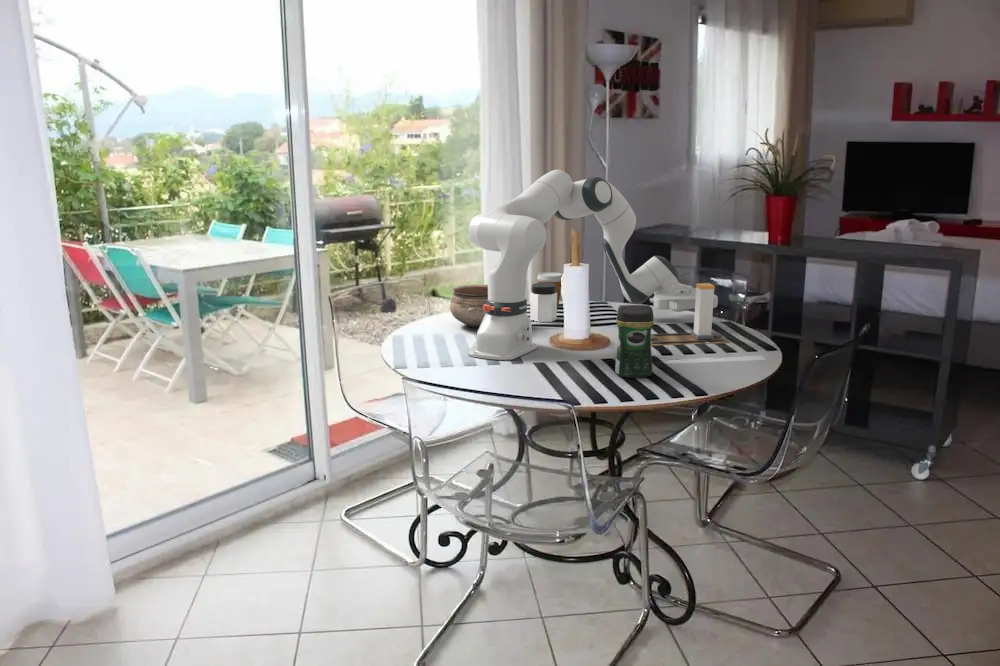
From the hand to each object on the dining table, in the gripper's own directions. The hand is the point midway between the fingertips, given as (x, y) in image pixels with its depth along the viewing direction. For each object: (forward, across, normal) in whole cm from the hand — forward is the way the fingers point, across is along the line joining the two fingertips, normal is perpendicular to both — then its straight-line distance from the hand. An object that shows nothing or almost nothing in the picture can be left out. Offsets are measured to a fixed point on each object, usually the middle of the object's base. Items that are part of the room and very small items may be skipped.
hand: (693, 306), depth 250 cm
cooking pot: (-19, -65, +9) cm, 69 cm away
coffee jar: (+39, -30, +9) cm, 50 cm away
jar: (-26, -43, +9) cm, 51 cm away
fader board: (+9, -7, +9) cm, 14 cm away
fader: (+9, 0, +8) cm, 12 cm away
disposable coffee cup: (-45, -37, +9) cm, 59 cm away
